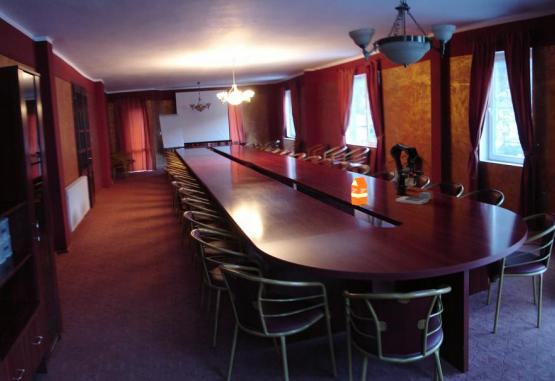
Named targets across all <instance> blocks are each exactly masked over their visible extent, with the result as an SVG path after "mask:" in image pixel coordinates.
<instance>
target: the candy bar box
mask: <svg viewBox="0 0 555 381" xmlns="http://www.w3.org/2000/svg"><path fill="white" fill-rule="evenodd" d="M409 176H410V174H408V178H410V177H409ZM397 177H398V173H397V169H394V185H395V184H396V182H397ZM409 188H410V186H408V187H406V189H407V190H409ZM394 189H395V190H397V187H395V186H394Z"/></svg>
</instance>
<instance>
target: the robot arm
mask: <svg viewBox="0 0 555 381" xmlns="http://www.w3.org/2000/svg"><path fill="white" fill-rule="evenodd" d="M402 152H404V154H405V157H406V165H405V168H403V164H402V160H401V157H402ZM389 154H390V157H392V159H393V160H394V164H395V168H396V169H395V170H397V173H398V177H397V182H396V184H395V183H394V188H395V187H397V189H396V193H395V195H396V196H405V195H407V194H408V193H407V191H408V189H406V187H408V186H407V185H405V179H407V178H408V174H409V175H413V178H414V184H415V183H416V184H417V180H418V178H419V177H420V176H424V175H425V174H424V171H423V170H417V171H416V169H415V168H416V166H419V165H420V164H421V163H422V159H421V157H420V156H419V152H418V150H417V148H416V146H408V145H406V144H404V143H402V142H400V143H398V142H397V143H395V145H394V146H391V148H390V149H389Z"/></svg>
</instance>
